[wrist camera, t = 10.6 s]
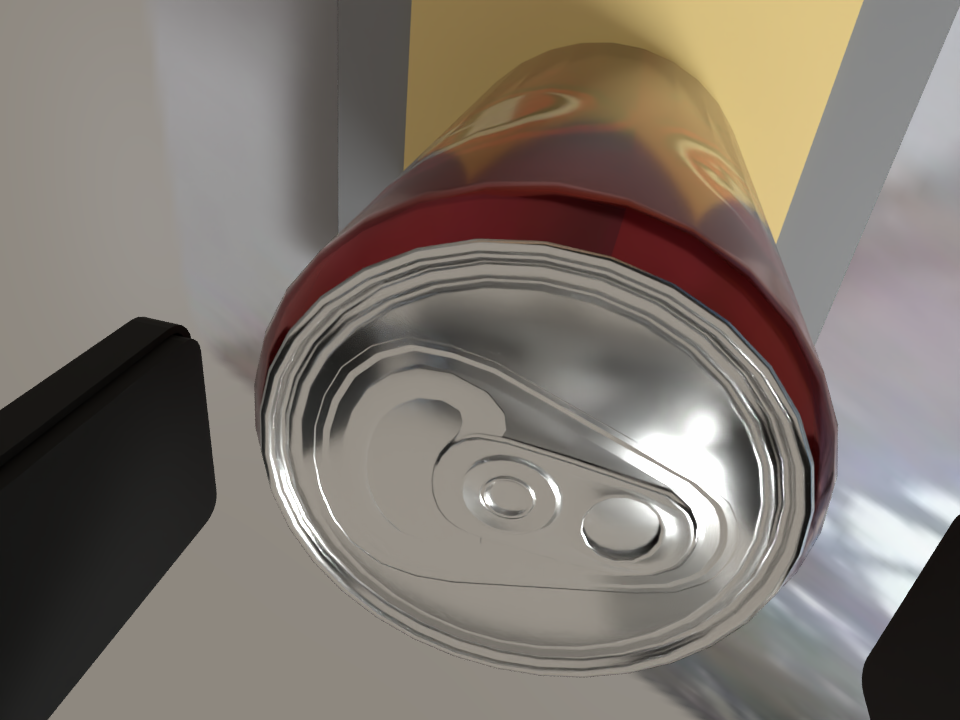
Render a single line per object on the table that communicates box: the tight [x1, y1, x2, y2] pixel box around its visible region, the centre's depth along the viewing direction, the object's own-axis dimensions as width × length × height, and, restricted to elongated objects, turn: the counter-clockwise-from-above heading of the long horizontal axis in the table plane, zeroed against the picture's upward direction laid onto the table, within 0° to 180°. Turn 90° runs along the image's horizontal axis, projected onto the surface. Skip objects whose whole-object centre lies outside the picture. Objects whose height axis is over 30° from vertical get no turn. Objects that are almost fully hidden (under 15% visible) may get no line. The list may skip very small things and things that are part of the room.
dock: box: [338, 0, 960, 346], centre depth 20 cm, size 14×14×4 cm
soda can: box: [254, 43, 838, 677], centre depth 13 cm, size 7×7×12 cm
